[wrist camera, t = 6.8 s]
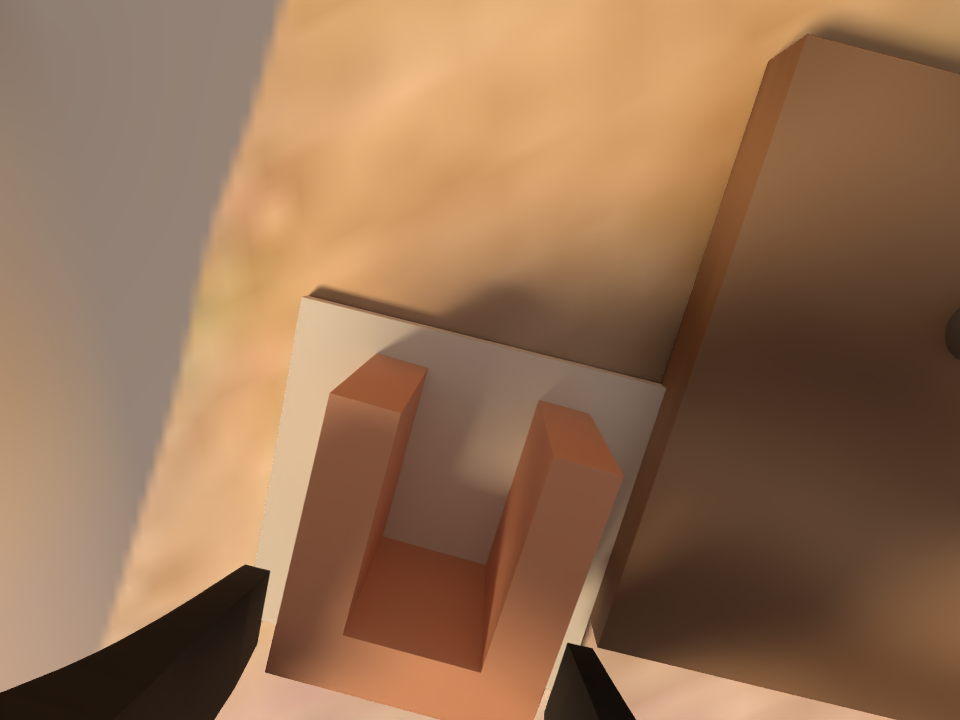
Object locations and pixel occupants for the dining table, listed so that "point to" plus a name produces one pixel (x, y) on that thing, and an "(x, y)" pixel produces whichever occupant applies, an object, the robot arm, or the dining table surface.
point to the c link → (437, 563)
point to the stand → (814, 406)
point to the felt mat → (446, 436)
